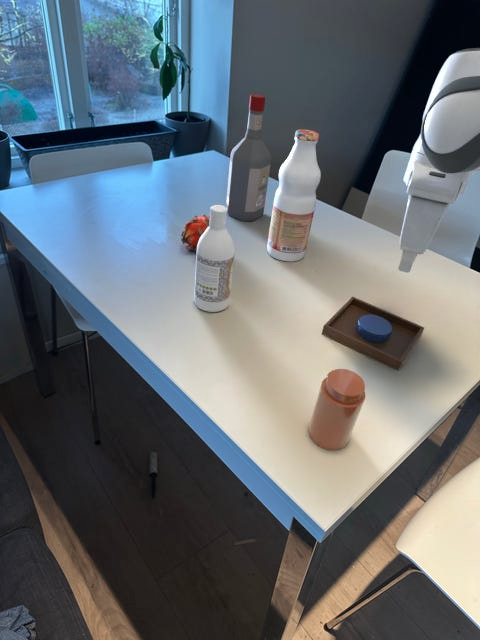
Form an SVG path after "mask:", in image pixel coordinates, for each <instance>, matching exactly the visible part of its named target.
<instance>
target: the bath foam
mask: <svg viewBox="0 0 480 640" xmlns="http://www.w3.org/2000/svg"><path fill="white" fill-rule="evenodd" d="M209 209H210V210H209V217H210V223H209V227H208V228H207V229H206V231H205V232H204V233H203V234H202V236H201V237H200V239H199V242H198V245H197V249H196V253H195V254H196V255H195V258H196V259H195V274H194V275H195V277H194V278H195V279H194V293H193V295H194V296H193V300H194V304H195V306H196V307H197V308H198V309H200V310H202V311H205V312H210V313H217V312H221V311H224V310H226V309H227V308H228V306H229V305H230V298H231V288H232V280H233V270H234V261H235V244H234V240H233V238H232V236H231V234H230V232H229V230H228V229H227V216H228V215H227V214H228V212H227V208H226V205H223V204H222V205H221V204H214V205H212V206H210V208H209Z"/></svg>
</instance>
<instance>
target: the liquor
mask: <svg viewBox="0 0 480 640" xmlns="http://www.w3.org/2000/svg"><path fill="white" fill-rule="evenodd" d="M265 104H266V95H263V94H256V93H252V94H250V95H249V103H248V117H247V118H248V119H247V127H246V132H245V135H244V136H243V137H244V138H242V139H241V140H240V141H239V142H238V143H237V144H236V145H235V146H234V147H233V148H232V150H231V152H230V157H229V168H228V179H227V189H226V191H227V192H226V200H225V201H226V202H225V207H226V208H227V214H228V216H229V217H231V218H234V219H237V220H239V221H243V222H254V221H256V220H257V219H258V218H261V217H262V216H263V214H264V212H265V205H266V198H267V191H268V184H269V178H270V172H271V171H270V170H271V163H272V154H271V151H270V150H269V149H268V147H267V146H266V144H265V143H264V140H263V139H262V125H263V116H264V111H265Z"/></svg>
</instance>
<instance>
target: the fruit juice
mask: <svg viewBox="0 0 480 640" xmlns="http://www.w3.org/2000/svg"><path fill="white" fill-rule="evenodd" d="M319 137H320V133H318V132H316V131H314V130H311V129H296V131H295V134H294V145H293V146H292V149H291V151H290V153H289V155H288V156H287V158H286V159H285V160H284V162H283V163H282V164H281V166H280V167H279V170H278V187H277V189H276V191H275V194H274V198H273V203H272V212H271V218H270V225H269V230H268V237H267V244H266V250H267V253H268V255H270V256H271V257H272V258H273V259H276V260H279V261H281V262H282V261H283V262H298V261H300V260H302V259H303V258H304V257H305V255H306V252H307V247H308V243H309V237H310V233H311V228H312V225H313V224H312V223H313V219H314V213H315V209H316V206H317V205H316V204H317V193H316V192H317V189H318V186H319V185H320V182H321V177H322V174H321V173H322V172H321V169H320V167H319V164H318V159H317V149H316V148H317V147H316V146H317V144H318V142H319Z"/></svg>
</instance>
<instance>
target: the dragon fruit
mask: <svg viewBox="0 0 480 640" xmlns="http://www.w3.org/2000/svg"><path fill="white" fill-rule="evenodd" d="M209 223H210V215H206V214H205V213H202V216H198V215H194V216H193V217H192V218H191V219H190V220H189V221H187V222H186V223H185V224H184V226H183V231H182V233H181V235H180V237H181V238H180V241H181V242H182V244H183V245H184V244H187V245H186V246H185V249H186V250H190V251H197V245H198V242H199V239H200V237H201V236H202V234H203V233H204V232H205V231H206V229H207V228H208V227H209Z"/></svg>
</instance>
